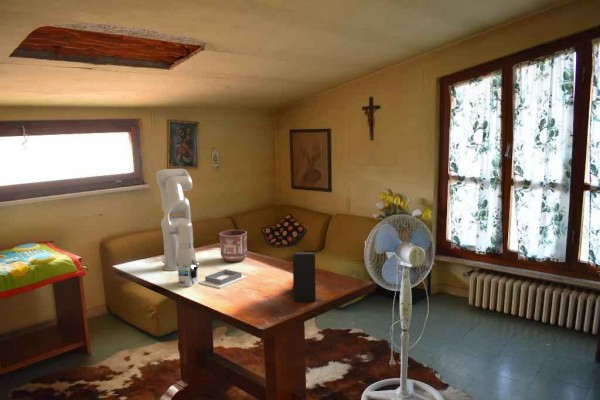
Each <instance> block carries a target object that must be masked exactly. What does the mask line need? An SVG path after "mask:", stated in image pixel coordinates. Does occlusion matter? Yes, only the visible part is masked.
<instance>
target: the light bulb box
mask: <svg viewBox="0 0 600 400" xmlns="http://www.w3.org/2000/svg"><path fill="white" fill-rule="evenodd" d="M193 268H194V267H193ZM191 271H192V270H191V267H186V266H183V265H180V266H179V267H178V270H177V273H178V274H177V276H178V287H187V288H189V287H192V286H193V285H195V284H196V283H197V282H199V275H198V274H199V273H198V269H197V270H196V272H197V277H196V278H193V279H192V278H191Z"/></svg>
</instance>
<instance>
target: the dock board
mask: <svg viewBox="0 0 600 400" xmlns="http://www.w3.org/2000/svg"><path fill="white" fill-rule="evenodd" d="M204 277H205V278H204V279H203V280H200V281H198V285H199V284H200V285H203V286H208V287H212V288H216V289H223V288H225V287H228V286H231V285H233V284H236V283H238V282H241V281H242V280H243V281H244V280H245V279H249V276H248V275H245V274H243V273H242V272H241V271H236V270H231V269H223V270H220V271H217V272H214V273H212V274H208V275H206V276H204Z"/></svg>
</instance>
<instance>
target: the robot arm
mask: <svg viewBox="0 0 600 400" xmlns="http://www.w3.org/2000/svg"><path fill="white" fill-rule="evenodd" d="M155 178H156V183H157V185H158V188H159V190H160V195H161V207H162V212H163V213H164V215H163V218H162V219H161V221H160V226H161V231H162V236H163V237H162V238H163V250H164V251H163V252H164V254H163V255H164V259H163V260H162V261H161V263H162V264H163V266H162V270H163V271H178V267H179V266H180V265H183V266H186V267H191V270H192V271H191V278H192V279H193V278H196V277H197V272H196V270H198V269H199V265H200V263H199V262H198V261H197V258H196V252H195V248H194V232H193V231H194V229H193V223H192V216H191V205H190V201H189V199H188V198H187V197H185V194H184V191H191V190H192V189H193V184H194V183H193V180H192V177H191V175H190V174H189V172H188V171H187V170H186V169H184V168H168V169H167V168H165V169H160V170H158V171H156V175H155ZM175 214H176V215H175ZM177 214H180V215H177ZM171 215H172V216H171ZM193 267H194V268H193Z"/></svg>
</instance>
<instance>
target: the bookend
mask: <svg viewBox="0 0 600 400" xmlns="http://www.w3.org/2000/svg"><path fill="white" fill-rule="evenodd" d="M292 279H293V280H292V281H293V282H292V283H293V286H292V287H293V290H292V292H293V293H292V294H293V302H315V301H316V299H317V298H316V296H317V295H316V253H314V252H313V251H311V252H307V251H306V252H304V251H303V252H295V253H292Z"/></svg>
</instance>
